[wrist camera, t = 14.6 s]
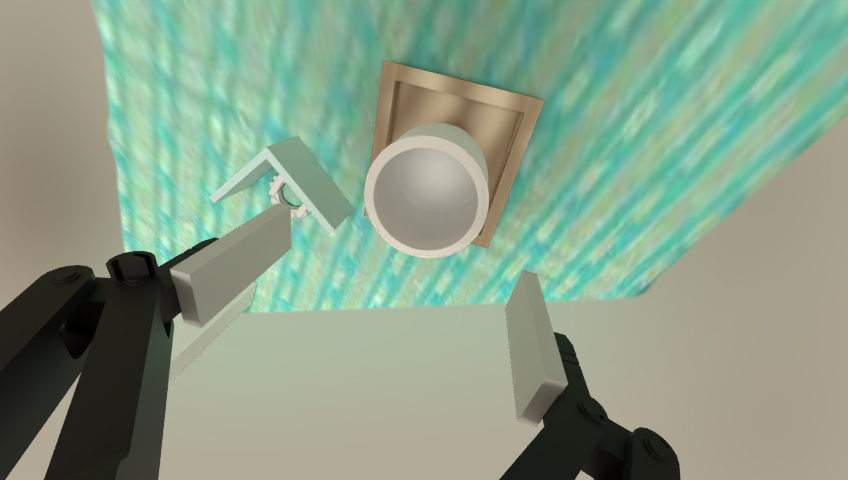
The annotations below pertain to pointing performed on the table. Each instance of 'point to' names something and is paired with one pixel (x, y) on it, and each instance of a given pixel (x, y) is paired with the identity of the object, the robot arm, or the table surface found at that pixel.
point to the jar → (429, 191)
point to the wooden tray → (460, 124)
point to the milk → (204, 332)
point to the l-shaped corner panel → (293, 183)
